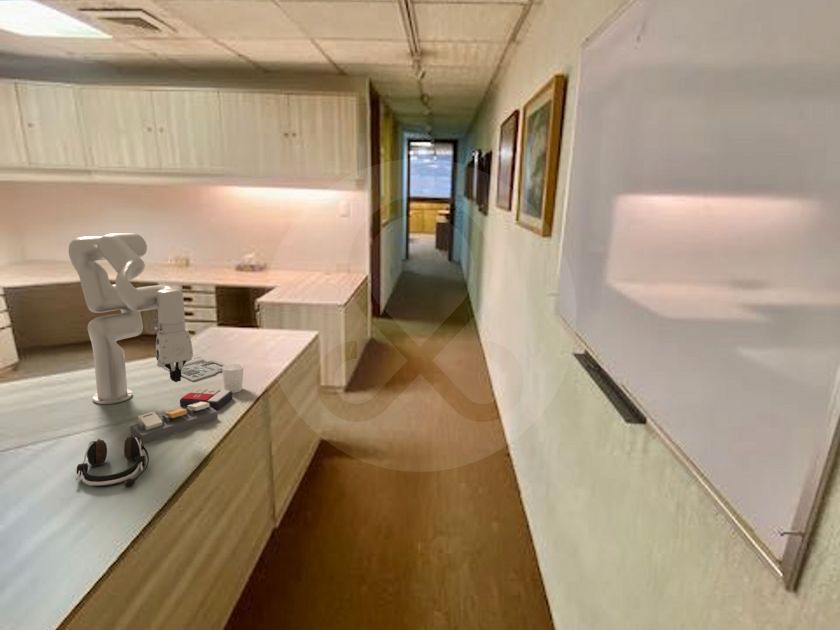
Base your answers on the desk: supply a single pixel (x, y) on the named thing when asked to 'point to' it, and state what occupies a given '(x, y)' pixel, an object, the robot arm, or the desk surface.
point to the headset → (98, 456)
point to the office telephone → (198, 369)
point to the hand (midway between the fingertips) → (176, 380)
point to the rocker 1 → (150, 420)
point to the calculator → (207, 397)
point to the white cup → (233, 377)
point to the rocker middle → (175, 413)
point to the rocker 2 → (198, 406)
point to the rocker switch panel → (174, 424)
